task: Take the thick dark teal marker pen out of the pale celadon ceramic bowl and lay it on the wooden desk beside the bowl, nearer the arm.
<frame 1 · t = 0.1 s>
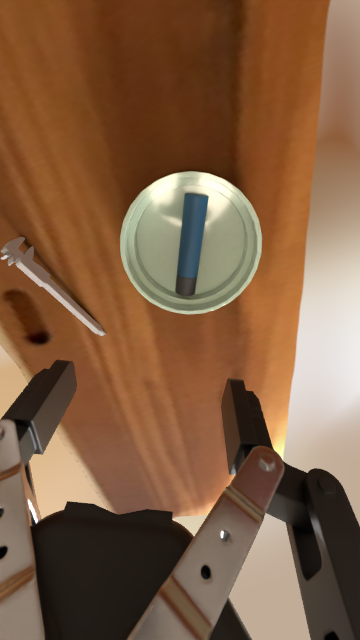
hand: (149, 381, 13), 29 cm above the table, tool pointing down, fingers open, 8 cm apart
bowl: (190, 244, 38), on the table
marker: (190, 245, 38), resting on bowl
caliper: (67, 289, 43), on the table
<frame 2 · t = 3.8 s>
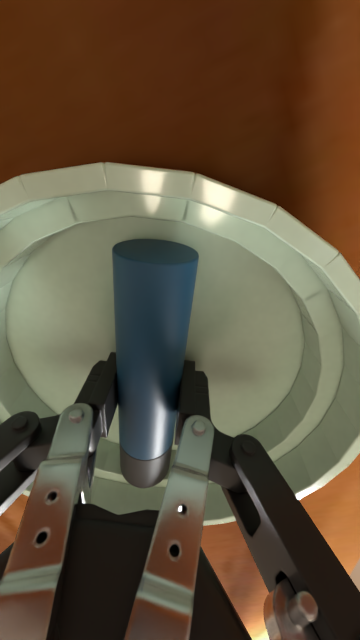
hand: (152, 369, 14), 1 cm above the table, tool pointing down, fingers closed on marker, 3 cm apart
bowl: (154, 360, 15), on the table
marker: (153, 364, 14), resting on bowl, touching gripper
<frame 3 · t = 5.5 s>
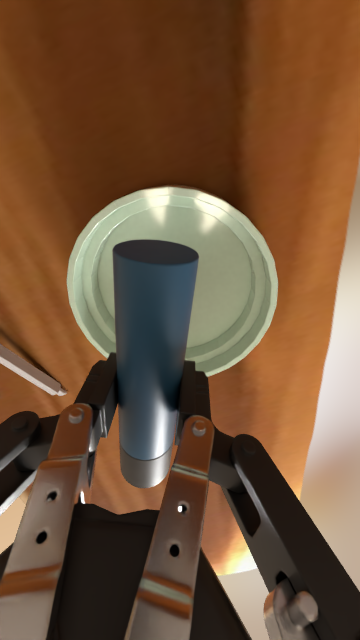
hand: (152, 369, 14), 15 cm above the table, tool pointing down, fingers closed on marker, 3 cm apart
bowl: (174, 285, 27), on the table
marker: (153, 364, 14), point 14 cm above the table, touching gripper
caliper: (11, 339, 32), on the table
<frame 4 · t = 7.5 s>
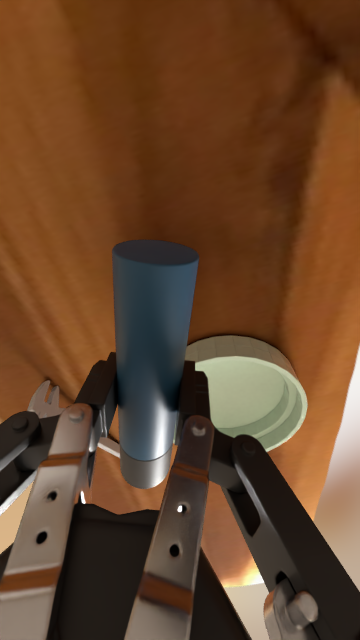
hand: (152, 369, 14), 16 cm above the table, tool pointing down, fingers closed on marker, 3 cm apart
bowl: (225, 389, 36), on the table
marker: (153, 365, 14), point 15 cm above the table, touching gripper
caliper: (92, 418, 41), on the table
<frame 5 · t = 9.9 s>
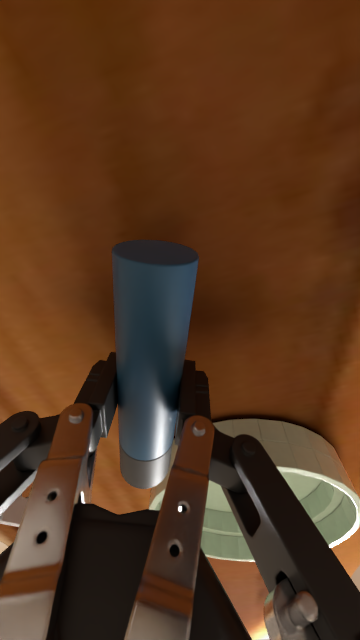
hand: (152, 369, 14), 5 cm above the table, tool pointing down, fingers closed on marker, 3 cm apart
bowl: (243, 473, 27), on the table
marker: (153, 365, 14), point 4 cm above the table, touching gripper
caliper: (70, 497, 32), on the table
when the fingers open (0 cm above the table, at t = 11.3 s): marker stays where it is, on the table.
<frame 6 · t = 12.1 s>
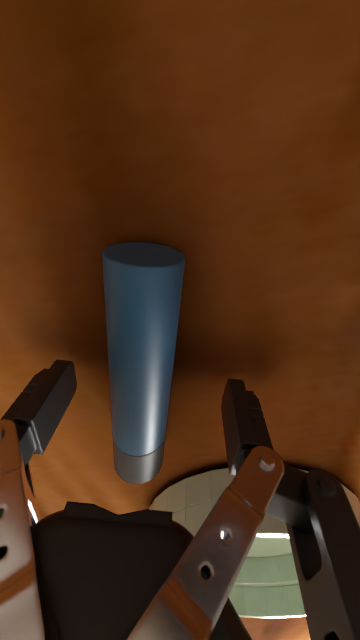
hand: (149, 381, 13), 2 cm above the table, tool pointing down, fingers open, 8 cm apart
bowl: (249, 518, 24), on the table
marker: (153, 365, 15), on the table, tilted 17°
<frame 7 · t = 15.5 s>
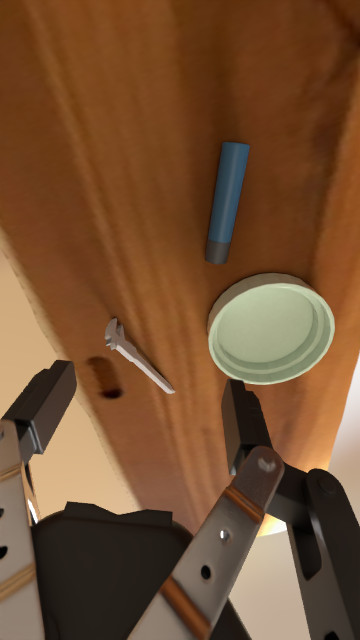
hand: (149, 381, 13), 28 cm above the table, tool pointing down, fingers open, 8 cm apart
bowl: (262, 325, 44), on the table
marker: (225, 207, 34), on the table, tilted 9°
caliper: (146, 357, 49), on the table
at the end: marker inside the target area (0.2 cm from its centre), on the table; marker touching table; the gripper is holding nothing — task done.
